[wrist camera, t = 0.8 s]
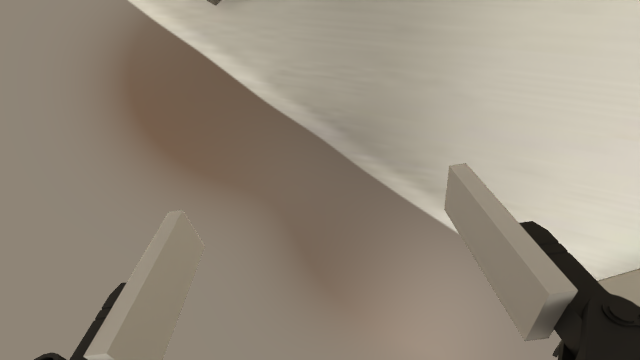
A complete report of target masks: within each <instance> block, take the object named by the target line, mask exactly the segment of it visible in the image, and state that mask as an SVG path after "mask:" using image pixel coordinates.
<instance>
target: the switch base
mask: <svg viewBox="0 0 640 360" xmlns="http://www.w3.org/2000/svg"><path fill="white" fill-rule="evenodd" d="M207 1H209V2H211V3H212V4H214V5H216V4H217V3H218V2H220V1H221V0H207Z"/></svg>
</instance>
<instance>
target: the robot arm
mask: <svg viewBox="0 0 640 360" xmlns="http://www.w3.org/2000/svg"><path fill="white" fill-rule="evenodd" d="M444 210H445V211H446V213H447V215H448V216H449V218H450V219H451V221H452V223H453V224H454V226H455V228H456V229H457V231H458V233H459V234H460V236H461V237H462V239H463V241H464V242H465V244H466V246H467V247H468V249H469V250H470V252H471V254H472V255H473V257H474V259H475V260H476V262H477V263H478V265H479V267H480V268H481V270H482V272H483V274H484V275H485V277H486V278H487V280H488V282H489V283H490V285H491V287H492V288H493V290H494V291H495V293H496V295H497V296H498V298H499V300H500V301H501V303H502V305H503V306H504V308H505V309H506V311H507V313H508V314H509V316H510V318H511V319H512V321H513V323H514V324H515V326H516V328H517V329H518V331H519V332H520V334H521V336H522V337H523V339H524V341H529V340H537V339H545V338H549V336H550V335H551V333H552V332H553V330H555V331H556V332H557V334H558V335H559V336H560V338H561V339H562V340H561V342H560V343H559V345H558V346H557V348H556V349H555V351H554V353H553V356H555V357H557V356H558V360H640V307H639V306H638V305H636V304H635V303H633V302H632V301H630V300H628V299H625V298H623V297H621V296H618V295H614V294H610V293H609V292H608V291H607V290H605V289H604V288H603V287H602V286H601V285H600V284H599V283H598V282H597V281H596V280H595V279H594V277H593V276H592V275H591V274H590V273H589V272H588V271H587V270H586V269H585V268H584V267H583V266H582V265H581V264H580V263H579V262H578V261H577V260H576V259H575V258H574V257H573V256H572V255H571V254H570V253H568V252H567V250H566V249H565V248H564V247H563V246H562V245H561V244H559V243H558V240H557V239H556V238H555V237H554V236H553V235H552V234H551V233H550V232H549V231H548V230H546V229H545V228H543V227H541V226H540V225H538V224H536V223H535V222H533V221H530V222H523V223H518V222H517V221H516V219H515V218H514V217H513V216H512V215H511V214H510V213H509V212H508V210H507V209H506V208H505V207H504V206H503V205H502V204H501V202H500V201H499V200H498V199H497V198H496V197H495V196H494V195H493V193H492V192H491V191H490V190H489V189H488V188H487V187H486V185H485V184H484V183H483V182H482V181H481V180H480V179H479V178H478V176H477V175H476V174H475V173H474V172H473V171H472V170H471V168H470V167H469V166H468V165H467V164H466V163H465V164H459V165H453V166H449V174H448V182H447V191H446V200H445V209H444ZM204 248H205V246H204V244H203V242H202V240H201V239H200V237H199V236H198V234H197V232H196V231H195V229H194V227H193V226H192V224H191V222H190V221H189V219H188V217H187V216H186V214H185V213H184V211H183V210H179V211H173V212H168V214H167V215H166V217H165V219H164V220H163V222H162V224H161V225H160V227H159V229H158V231H157V232H156V234H155V236H154V237H153V239H152V241H151V242H150V244H149V246H148V247H147V249H146V251H145V253H144V254H143V256H142V258H141V259H140V261H139V263H138V265H137V266H136V268H135V270H134V271H133V273H132V275H131V276H130V278H129V280H128V281H127V283H121V284H120V285H119V286H118V287H117V288H116V289H115V290H114V291H113V292H112V293H111V294H110V295H109V297H108V299H107V300H106V302H105V303H104V305H103V307H102V310H101V311H100V312H99V313H98V315H97V317H96V318H95V319H96V320H95V321H94V322H93V323H92V325H91V326H90V328H89V329H88V331H87V333H86V334H85V336H84V337H83V339H82V341H81V342H80V344H79V345H78V347H77V349H76V350H75V352H74V353H73V355H72V357H71V358H70V360H163V358H164V355H165V352H166V350H167V347H168V344H169V341H170V339H171V336H172V334H173V331H174V328H175V326H176V323H177V320H178V318H179V315H180V312H181V310H182V307H183V304H184V302H185V299H186V296H187V294H188V291H189V288H190V286H191V283H192V280H193V278H194V275H195V272H196V270H197V267H198V264H199V262H200V259H201V256H202V254H203V251H204ZM34 360H66V359H65V358H63V357H61V356H60V355H58V354H55V353H48V354H43V355H42V356H40V357H38V358H36V359H34Z"/></svg>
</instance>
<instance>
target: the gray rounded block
mask: <svg viewBox="0 0 640 360" xmlns="http://www.w3.org/2000/svg"><path fill="white" fill-rule="evenodd" d="M597 282H598V283H599V284H600V285H601V286H602V287H603V288H604V289H605V290H607V291H608V292H609V293H610V294H614V295H618V296H621V297H623V298H625V299H628V300H630V301H632V302H633V303H635V304H636V305H638V306H639V307H640V269H638V270H635V271H631V272H628V273H624V274H621V275H617V276H614V277H611V278H607V279H604V280H600V281H597Z"/></svg>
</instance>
